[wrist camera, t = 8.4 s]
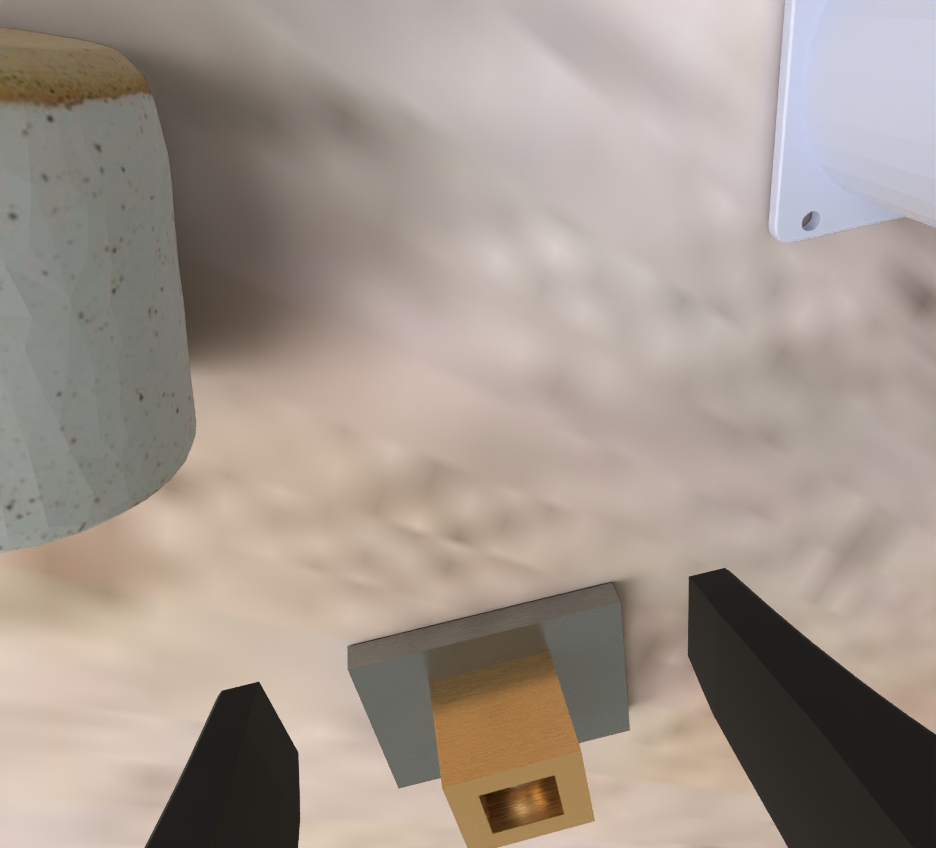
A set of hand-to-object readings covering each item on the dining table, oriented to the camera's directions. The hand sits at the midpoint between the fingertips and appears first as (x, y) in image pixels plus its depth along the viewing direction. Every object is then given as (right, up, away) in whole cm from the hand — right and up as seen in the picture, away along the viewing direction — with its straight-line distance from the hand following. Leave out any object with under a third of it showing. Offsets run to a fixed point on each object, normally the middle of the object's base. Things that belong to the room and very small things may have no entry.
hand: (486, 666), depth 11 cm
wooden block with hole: (+1, -7, +15) cm, 17 cm away
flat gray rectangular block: (+1, -6, +16) cm, 17 cm away
